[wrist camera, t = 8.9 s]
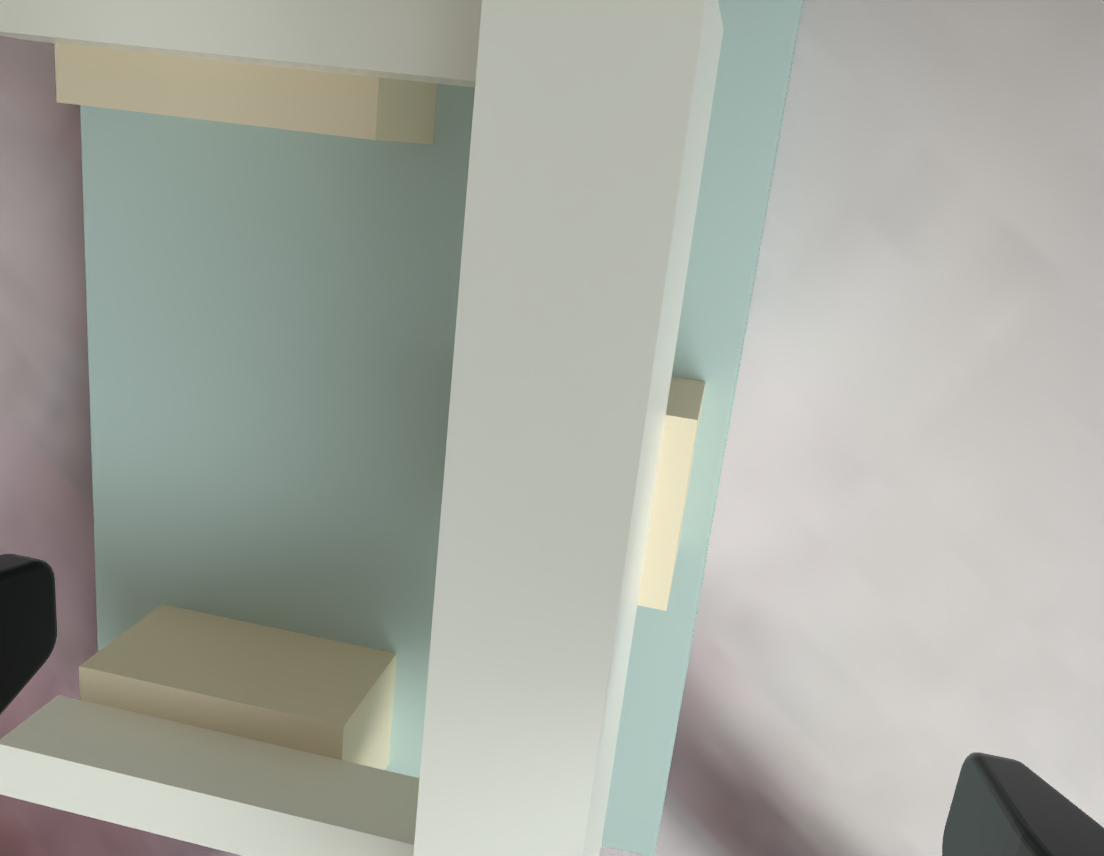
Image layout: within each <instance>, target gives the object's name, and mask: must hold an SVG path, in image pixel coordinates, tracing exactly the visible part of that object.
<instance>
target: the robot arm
mask: <svg viewBox="0 0 1104 856" xmlns="http://www.w3.org/2000/svg"><path fill="white" fill-rule="evenodd" d="M56 637H57V621H56V599H55V578H54V573H53V570H52V568H51V567H50V565H49V564H48V563H46V562H45V561H43V560H40V559H35V558H30V557H25V556H20V555H15V554H4V555H0V715H1V714H2V712H3V711H4V710H5V709H6V708H7V706H8V705H9V704H10V703H11V702H12V701H13V699H14V698H15V697H16V696H17V695H18V693H19V692H20V691H21V690H22V689H23V688H24V686H25V685H26V684H27V683H28V682H29V680H30V679H31V678H32V677H33V676H34V675H35V673H36V672H37V671H38V670H39V669H40V667H41V666H42V665H43V664H44V663H45V662H46V660H47V659H48V657H49V656H50V654H51V652H52V650H53V648H54V645H55V642H56ZM942 856H1104V828H1103V827H1102V826H1101V825H1099V824H1098V823H1097V822H1096V821H1094V820H1093V819H1092V818H1091V817H1089V816H1088V815H1087V814H1086V813H1084V812H1083V811H1082V810H1081V809H1079V808H1078V807H1077V806H1075V805H1074V804H1073V803H1072V802H1070V801H1069V800H1068V799H1067V798H1065V797H1064V796H1063V795H1062V794H1060V793H1059V792H1058V791H1057V790H1055V789H1054V788H1053V787H1052V786H1050V785H1049V784H1048V783H1047V782H1045V781H1044V780H1043V779H1042V778H1040V777H1039V776H1038V775H1036V774H1035V773H1034V772H1033V771H1031V770H1030V769H1029V768H1028V767H1026V766H1025V765H1024V764H1022V763H1021V762H1019V761H1016V760H1013V759H1009V758H1004V757H999V756H994V755H989V754H984V753H972V754H970V755H969V756H968V757H967V758H966V759H965V761H964V763H963V765H962V768H961V771H960V775H959V779H958V782H957V786H956V789H955V793H954V797H953V800H952V804H951V807H950V811H949V815H948V818H947V822H946V825H945V830H944V835H943V845H942Z"/></svg>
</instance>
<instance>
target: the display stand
mask: <svg viewBox="0 0 1104 856" xmlns="http://www.w3.org/2000/svg"><path fill="white" fill-rule="evenodd" d="M802 2H803V0H718V3H719V9H720V14H721V19H722V24H723V29H724V30H723V36H722V43H721V50H720V56H719V63H718V70H717V76H716V83H715V90H714V96H713V103H712V110H711V116H710V123H709V130H708V136H707V143H706V150H705V156H704V163H703V170H702V176H701V183H700V190H699V196H698V203H697V210H696V216H695V223H694V230H693V236H692V243H691V250H690V256H689V263H688V270H687V276H686V283H685V290H684V296H683V303H682V310H681V316H680V323H679V330H678V336H677V343H676V350H675V357H674V363H673V370H672V377H671V383H670V390H669V397H668V403H667V410H666V417H665V423H664V430H663V437H662V443H661V450H660V457H659V463H658V470H657V477H656V483H655V490H654V497H653V503H652V510H651V517H650V523H649V530H648V537H647V543H646V550H645V557H644V563H643V570H642V577H641V583H640V590H639V597H638V603H637V610H636V617H635V623H634V630H633V637H632V643H631V650H630V657H629V663H628V670H627V677H626V684H625V690H624V697H623V704H622V710H621V717H620V724H619V730H618V737H617V744H616V750H615V757H614V764H613V770H612V777H611V784H610V790H609V797H608V804H607V810H606V817H605V824H604V830H603V837H602V844H601V846H605V847H609V848H614V849H618V850H622V851H626V852H630V853H635V854H639V855H643V856H655V851H656V845H657V840H658V834H659V828H660V822H661V817H662V811H663V805H664V799H665V793H666V788H667V782H668V776H669V770H670V765H671V759H672V753H673V747H674V741H675V736H676V730H677V724H678V718H679V713H680V707H681V701H682V695H683V689H684V684H685V678H686V672H687V666H688V661H689V655H690V649H691V643H692V637H693V632H694V626H695V620H696V614H697V609H698V603H699V597H700V591H701V585H702V580H703V574H704V568H705V562H706V557H707V551H708V545H709V539H710V533H711V528H712V522H713V516H714V510H715V505H716V499H717V493H718V487H719V481H720V476H721V470H722V464H723V458H724V453H725V447H726V441H727V435H728V429H729V424H730V418H731V412H732V406H733V401H734V395H735V389H736V383H737V377H738V372H739V366H740V360H741V354H742V348H743V343H744V337H745V331H746V325H747V320H748V314H749V308H750V302H751V296H752V291H753V285H754V279H755V273H756V268H757V262H758V256H759V250H760V244H761V239H762V233H763V227H764V221H765V216H766V210H767V204H768V198H769V192H770V187H771V181H772V175H773V169H774V164H775V158H776V152H777V146H778V140H779V135H780V129H781V123H782V117H783V112H784V106H785V100H786V94H787V88H788V83H789V77H790V71H791V65H792V60H793V54H794V48H795V42H796V36H797V31H798V25H799V19H800V13H801V8H802ZM54 46H55V71H56V97H57V102H59V103H68V104H76V105H80V115H81V146H82V177H83V207H84V238H85V269H86V300H87V331H88V362H89V392H90V423H91V454H92V485H93V516H94V546H95V577H96V608H97V639H98V652H97V653H96V654H95V655H93V656H92V657H91V658H89V659H88V660H87V661H85V662H84V663H82V664H81V665H80V666H79V682H80V700H84V701H88V702H92V703H97V704H101V705H105V706H110V707H114V708H118V709H123V710H127V711H131V712H136V713H140V714H144V715H148V716H153V717H157V718H161V719H166V720H170V721H174V722H179V723H183V724H187V725H192V726H196V727H200V728H205V729H209V730H213V731H218V732H222V733H226V734H231V735H235V736H239V737H244V738H248V739H252V740H257V741H261V742H265V743H270V744H274V745H278V746H283V747H287V748H291V749H296V750H300V751H304V752H308V753H313V754H317V755H321V756H326V757H330V758H334V759H339V760H343V761H347V762H352V763H356V764H360V765H365V766H369V767H373V768H378V769H382V770H386V771H391V772H395V773H399V774H404V775H408V776H412V777H417V778H420V767H421V754H422V742H423V729H424V717H425V705H426V692H427V680H428V667H429V655H430V642H431V630H432V617H433V605H434V593H435V580H436V568H437V555H438V543H439V530H440V518H441V505H442V493H443V481H444V468H445V456H446V443H447V431H448V418H449V406H450V393H451V381H452V369H453V356H454V344H455V331H456V319H457V306H458V294H459V281H460V269H461V257H462V244H463V232H464V219H465V207H466V194H467V182H468V169H469V157H470V145H471V132H472V120H473V107H474V95H475V87H466V86H456V85H447V84H437V83H428V82H418V81H409V80H399V79H390V78H380V77H371V76H361V75H352V74H342V73H333V72H323V71H314V70H304V69H295V68H285V67H276V66H266V65H257V64H247V63H238V62H228V61H219V60H209V59H200V58H190V57H181V56H171V55H162V54H152V53H143V52H133V51H124V50H114V49H105V48H95V47H86V46H76V45H67V44H57V43H54Z"/></svg>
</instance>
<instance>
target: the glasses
mask: <svg viewBox="0 0 1104 856" xmlns="http://www.w3.org/2000/svg"><path fill="white" fill-rule="evenodd" d="M723 30H724V29H723V24H722V19H721V14H720V9H719V3H718V0H0V36H5V37H11V38H16V39H22V40H29V41H38V42H48V43H57V44H67V45H76V46H86V47H95V48H105V49H114V50H124V51H133V52H143V53H152V54H162V55H171V56H181V57H190V58H200V59H209V60H219V61H228V62H238V63H247V64H257V65H266V66H276V67H285V68H295V69H304V70H314V71H323V72H333V73H342V74H352V75H361V76H371V77H380V78H390V79H399V80H409V81H418V82H428V83H437V84H447V85H456V86H466V87H475V95H474V107H473V120H472V132H471V145H470V157H469V169H468V182H467V194H466V207H465V219H464V232H463V244H462V257H461V269H460V281H459V294H458V306H457V319H456V331H455V344H454V356H453V369H452V381H451V393H450V406H449V418H448V431H447V443H446V456H445V468H444V481H443V493H442V505H441V518H440V530H439V543H438V555H437V568H436V580H435V593H434V605H433V617H432V630H431V642H430V655H429V667H428V680H427V692H426V705H425V717H424V729H423V742H422V754H421V767H420V778H417V777H412V776H408V775H404V774H399V773H395V772H391V771H386V770H382V769H378V768H373V767H369V766H365V765H360V764H356V763H352V762H347V761H343V760H339V759H334V758H330V757H326V756H321V755H317V754H313V753H308V752H304V751H300V750H296V749H291V748H287V747H283V746H278V745H274V744H270V743H265V742H261V741H257V740H252V739H248V738H244V737H239V736H235V735H231V734H226V733H222V732H218V731H213V730H209V729H205V728H200V727H196V726H192V725H187V724H183V723H179V722H174V721H170V720H166V719H161V718H157V717H153V716H148V715H144V714H140V713H136V712H131V711H127V710H123V709H118V708H114V707H110V706H105V705H101V704H97V703H92V702H88V701H84V700H79V699H75V698H71V697H66V696H62V695H57V696H56V697H55V698H53V699H52V700H51V701H50V702H48V703H47V704H46V705H44V706H43V707H42V708H40V709H39V710H38V711H36V712H35V713H34V714H33V715H31V716H30V717H29V718H27V719H26V720H25V721H23V722H22V723H21V724H19V725H18V726H17V727H15V728H14V729H13V730H12V731H10V732H9V733H8V734H6V735H5V736H4V737H2V738H1V739H0V794H1V795H5V796H9V797H13V798H17V799H21V800H25V801H29V802H33V803H37V804H41V805H45V806H49V807H53V808H56V809H60V810H64V811H68V812H72V813H76V814H80V815H84V816H88V817H92V818H96V819H100V820H104V821H108V822H112V823H116V824H120V825H124V826H128V827H131V828H135V829H139V830H143V831H147V832H151V833H155V834H159V835H163V836H167V837H171V838H175V839H179V840H183V841H187V842H191V843H195V844H199V845H203V846H206V847H210V848H214V849H218V850H222V851H226V852H230V853H234V854H238V855H242V856H600V850H601V844H602V837H603V830H604V824H605V817H606V810H607V804H608V797H609V790H610V784H611V777H612V770H613V764H614V757H615V750H616V744H617V737H618V730H619V724H620V717H621V710H622V704H623V697H624V690H625V684H626V677H627V670H628V663H629V657H630V650H631V643H632V637H633V630H634V623H635V617H636V610H637V603H638V597H639V590H640V583H641V577H642V570H643V563H644V557H645V550H646V543H647V537H648V530H649V523H650V517H651V510H652V503H653V497H654V490H655V483H656V477H657V470H658V463H659V457H660V450H661V443H662V437H663V430H664V423H665V417H666V410H667V403H668V397H669V390H670V383H671V377H672V370H673V363H674V357H675V350H676V343H677V336H678V330H679V323H680V316H681V310H682V303H683V296H684V290H685V283H686V276H687V270H688V263H689V256H690V250H691V243H692V236H693V230H694V223H695V216H696V210H697V203H698V196H699V190H700V183H701V176H702V170H703V163H704V156H705V150H706V143H707V136H708V130H709V123H710V116H711V110H712V103H713V96H714V90H715V83H716V76H717V70H718V63H719V56H720V50H721V43H722V36H723Z"/></svg>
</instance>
